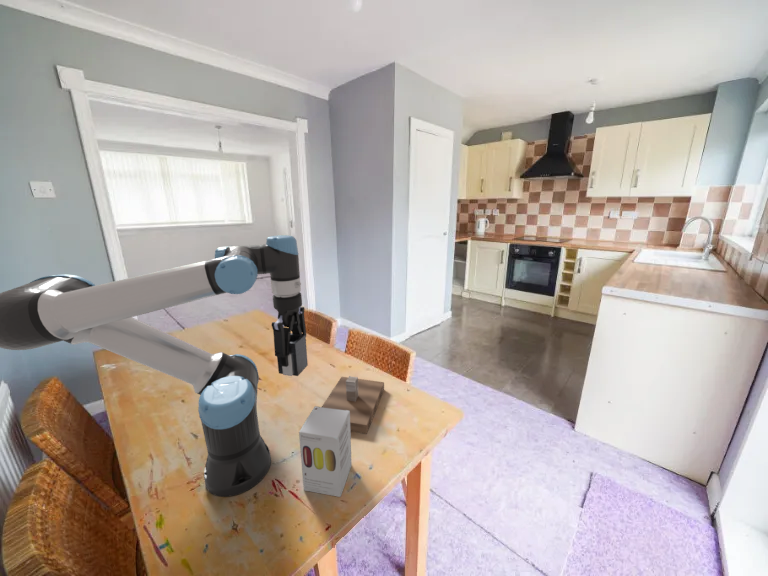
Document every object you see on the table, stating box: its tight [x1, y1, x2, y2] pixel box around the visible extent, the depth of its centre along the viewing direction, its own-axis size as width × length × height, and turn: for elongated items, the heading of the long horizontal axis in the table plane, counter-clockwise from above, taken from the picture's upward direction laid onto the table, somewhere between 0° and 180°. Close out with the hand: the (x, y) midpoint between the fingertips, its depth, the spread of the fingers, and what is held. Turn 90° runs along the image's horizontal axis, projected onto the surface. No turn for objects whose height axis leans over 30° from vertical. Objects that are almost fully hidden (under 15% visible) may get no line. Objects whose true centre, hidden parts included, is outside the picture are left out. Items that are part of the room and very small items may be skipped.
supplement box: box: [298, 405, 353, 498], centre depth 73 cm, size 10×9×17 cm
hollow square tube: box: [276, 332, 308, 377], centre depth 89 cm, size 6×6×10 cm
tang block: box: [321, 375, 385, 435], centre depth 100 cm, size 22×16×10 cm
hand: (294, 368), depth 90 cm, fingers closed on hollow square tube, 6 cm apart
